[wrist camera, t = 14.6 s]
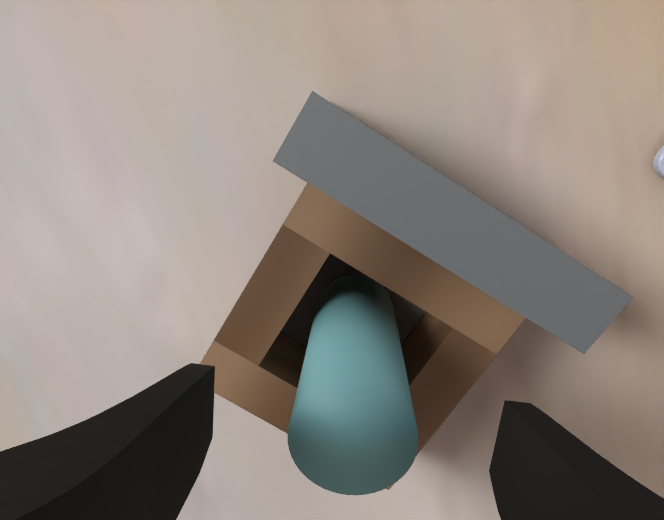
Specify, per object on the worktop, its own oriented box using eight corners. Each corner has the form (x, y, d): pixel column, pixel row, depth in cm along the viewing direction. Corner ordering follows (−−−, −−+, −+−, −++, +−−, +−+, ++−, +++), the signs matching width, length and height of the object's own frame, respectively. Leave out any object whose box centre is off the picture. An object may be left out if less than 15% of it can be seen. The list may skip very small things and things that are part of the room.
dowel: (397, 277, 18) (425, 387, 11) (389, 350, 19) (411, 499, 12) (318, 272, 18) (289, 376, 11) (314, 344, 19) (285, 489, 12)
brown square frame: (502, 282, 18) (529, 312, 15) (384, 437, 20) (388, 490, 17) (319, 168, 17) (311, 176, 14) (215, 341, 19) (190, 379, 16)
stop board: (558, 250, 18) (632, 296, 13) (524, 294, 18) (584, 354, 13) (325, 100, 17) (312, 90, 12) (296, 151, 17) (272, 160, 12)
